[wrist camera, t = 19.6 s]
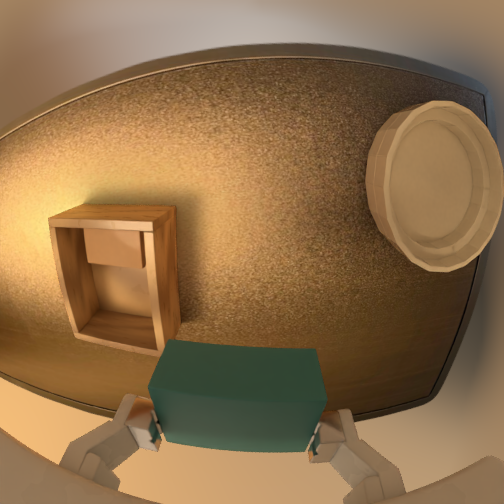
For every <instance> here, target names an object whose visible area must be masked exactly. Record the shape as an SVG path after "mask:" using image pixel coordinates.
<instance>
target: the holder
mask: <svg viewBox="0 0 504 504" xmlns="http://www.w3.org/2000/svg"><path fill="white" fill-rule="evenodd" d="M48 221H49V229H50V236H51V243H52V249H53V255H54V260H55V265H56V270H57V274H58V279H59V283H60V287H61V291H62V295H63V299H64V303H65V306H66V310H67V313H68V317H69V320H70V323H71V326H72V329H73V332H74V335H75V338H78V339H82V340H85V341H89V342H93V343H97V344H101V345H105V346H109V347H113V348H118V349H122V350H127V351H132V352H136V353H142V354H147V355H152V356H158V357H161V355H162V352H163V350H164V348H165V346H166V343H167V341H168V339H174V340H175V337H176V335H177V332H178V330H179V328H180V325H181V316H180V303H179V289H178V271H177V246H176V206H169V205H127V204H82V205H79V206H77V207H74V208H72V209H69V210H67V211H64V212H62V213H59V214H57V215H55V216H52V217H50V218H48ZM83 228H88V229H109V230H128V231H144V244H145V257H146V266H145V267H144V268H143V269H138V268H129V267H119V266H110V265H102V264H93V263H88V260H87V253H86V246H85V238H84V230H83Z"/></svg>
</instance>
